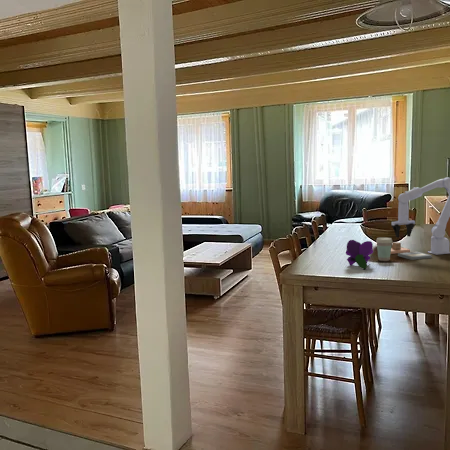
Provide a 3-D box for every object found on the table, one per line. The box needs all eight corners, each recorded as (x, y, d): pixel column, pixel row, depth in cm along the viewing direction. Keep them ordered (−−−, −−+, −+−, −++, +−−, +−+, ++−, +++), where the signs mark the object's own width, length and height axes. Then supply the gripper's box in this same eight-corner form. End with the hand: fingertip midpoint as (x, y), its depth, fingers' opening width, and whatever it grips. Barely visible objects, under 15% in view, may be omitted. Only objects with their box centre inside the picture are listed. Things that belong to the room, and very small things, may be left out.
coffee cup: (391, 258, 259) (391, 237, 257) (392, 261, 251) (393, 239, 249) (375, 258, 261) (375, 237, 260) (376, 261, 253) (376, 239, 252)
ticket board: (417, 254, 268) (417, 251, 268) (431, 258, 257) (431, 255, 257) (397, 256, 265) (397, 253, 265) (411, 259, 253) (411, 257, 253)
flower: (377, 278, 237) (369, 261, 248) (383, 255, 229) (374, 238, 240) (349, 279, 237) (342, 262, 248) (353, 256, 228) (346, 239, 239)
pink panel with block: (401, 249, 282) (401, 240, 282) (410, 252, 275) (410, 242, 274) (382, 251, 279) (383, 242, 278) (390, 253, 271) (391, 244, 271)
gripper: (409, 212, 278) (409, 234, 279) (388, 213, 274) (388, 236, 276) (417, 213, 271) (417, 236, 273) (395, 215, 267) (395, 238, 269)
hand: (403, 236), depth 274 cm, fingers open, 7 cm apart
